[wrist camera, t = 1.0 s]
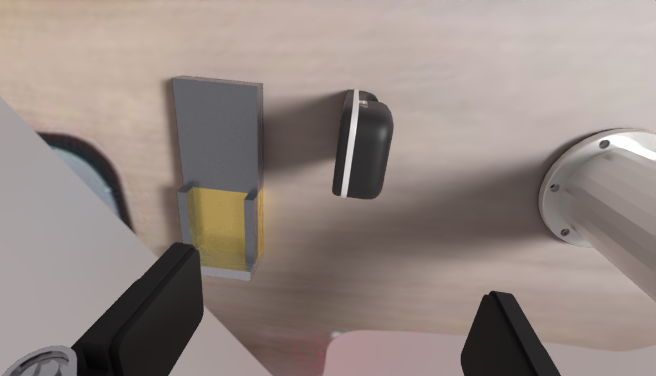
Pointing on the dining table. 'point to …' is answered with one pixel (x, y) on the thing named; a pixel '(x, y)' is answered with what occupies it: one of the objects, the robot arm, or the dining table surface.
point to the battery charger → (362, 146)
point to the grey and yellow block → (221, 173)
